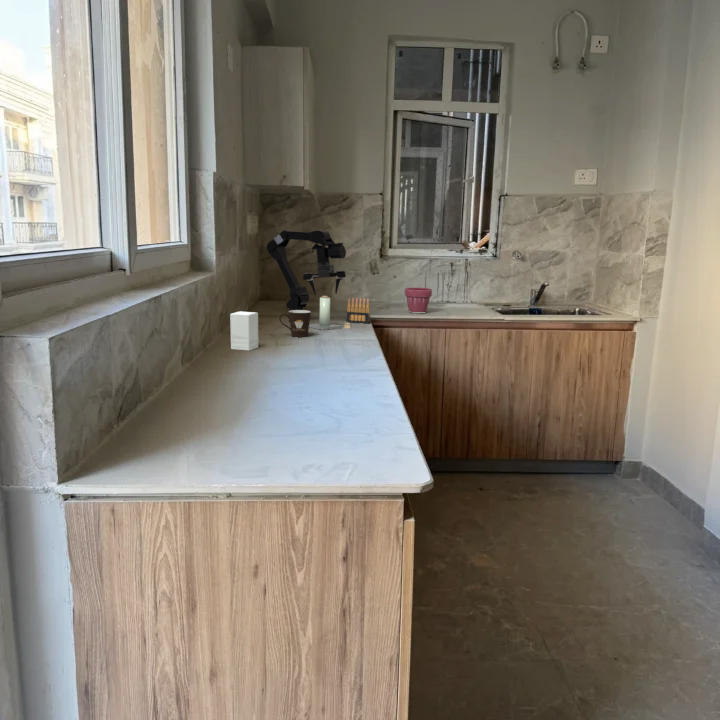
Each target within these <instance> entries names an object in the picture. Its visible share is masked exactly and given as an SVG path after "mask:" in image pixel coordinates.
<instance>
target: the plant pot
mask: <svg viewBox="0 0 720 720" xmlns="http://www.w3.org/2000/svg"><path fill="white" fill-rule="evenodd" d="M432 290H433V289H432V288H429V287H405V289H404V296H405V298H406V303H407V304H406V305H407V308H408V312H409V311H411V312H426V313H427V309H428V306H429V302H430V299H431V297H432V296H433V293H432V292H433V291H432Z"/></svg>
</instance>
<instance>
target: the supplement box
mask: <svg viewBox="0 0 720 720" xmlns="http://www.w3.org/2000/svg"><path fill="white" fill-rule="evenodd" d="M229 318H230V324H229V325H230V350H236V351H237V350H239V351H253V350H255V349H258V348H259V312H253V311H252V312H251V311H241V310H240V311H235V312H232V313H230V314H229Z"/></svg>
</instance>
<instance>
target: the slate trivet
mask: <svg viewBox="0 0 720 720" xmlns="http://www.w3.org/2000/svg"><path fill="white" fill-rule="evenodd" d="M309 327H312V328H311V329H314V328H316V329H315V330H319V329H321V330H320V331H329V330H328V329H331V330H338V329H337V328H340V329H343V325H340V324H335V323H334V324H333V323H330V326H320V325H319V323H309Z"/></svg>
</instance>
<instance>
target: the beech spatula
mask: <svg viewBox="0 0 720 720" xmlns="http://www.w3.org/2000/svg"><path fill="white" fill-rule="evenodd" d="M344 329H351V323H349V322H346V321H345V322H344Z"/></svg>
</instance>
